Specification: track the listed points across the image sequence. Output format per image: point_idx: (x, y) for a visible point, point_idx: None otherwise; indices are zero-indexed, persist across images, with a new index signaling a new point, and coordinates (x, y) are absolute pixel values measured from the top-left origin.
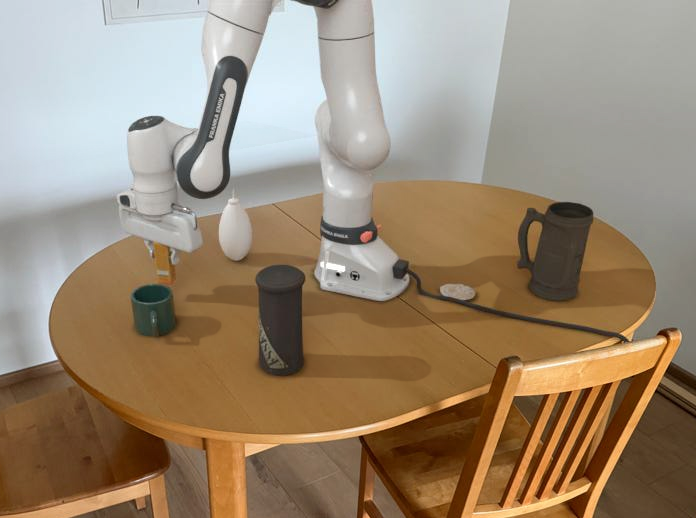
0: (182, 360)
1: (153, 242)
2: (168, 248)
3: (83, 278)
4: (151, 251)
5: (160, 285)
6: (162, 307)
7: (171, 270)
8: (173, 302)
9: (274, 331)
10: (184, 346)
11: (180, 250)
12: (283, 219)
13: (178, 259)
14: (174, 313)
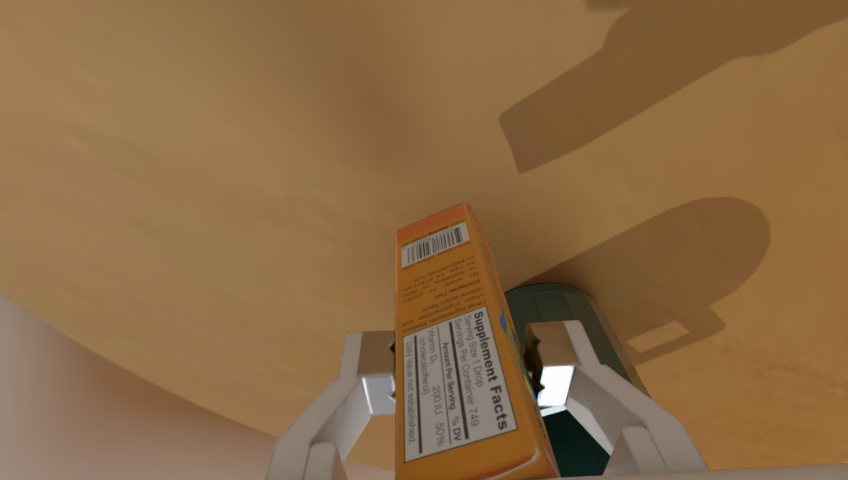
0: (707, 385)
1: (326, 430)
2: (553, 456)
3: (30, 290)
4: (368, 414)
5: (566, 409)
6: None
7: (502, 292)
8: (642, 383)
9: None
10: (683, 351)
11: (657, 411)
12: None
13: (584, 335)
14: (620, 343)
